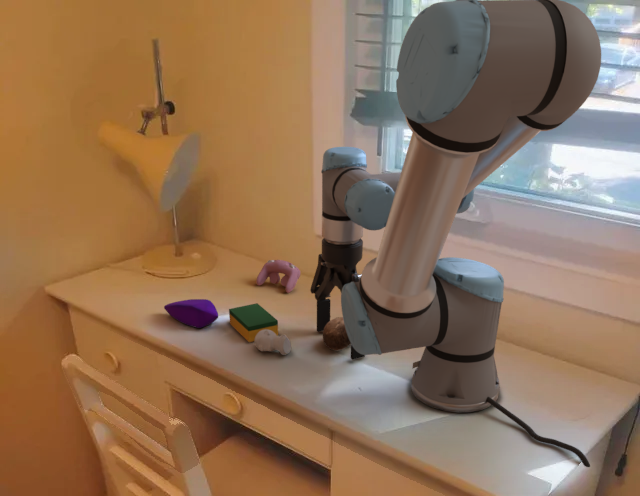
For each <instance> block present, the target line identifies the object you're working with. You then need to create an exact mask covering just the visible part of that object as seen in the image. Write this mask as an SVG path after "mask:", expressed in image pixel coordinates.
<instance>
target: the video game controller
mask: <svg viewBox="0 0 640 496" xmlns="http://www.w3.org/2000/svg"><path fill="white" fill-rule="evenodd" d="M280 274H283V276H282V277H281V276H280ZM300 277H301V270H300V268H299V267H298V266H296V265H294V264H293V263H291V262H289V261H287V260H284V259H271V260H270V259H269V260H267V262H265V263H264V265H263V266H262V268H261V270H260V271H259V273H258V275H257V277H256V280H255V281H256V285H257V286H261V285H263V284H264V283H265V282H266V281H267V280H268V278H269V282H270V283H271V284H273V285H278V284H279V283H280V284H281V286H282V287H285V293H287V294H289V293H291V292H292V291H293V290H294V289H295V287H296V286H297V284H298V283H297V282H298V280H299V279H300Z"/></svg>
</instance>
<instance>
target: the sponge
mask: <svg viewBox="0 0 640 496" xmlns="http://www.w3.org/2000/svg"><path fill="white" fill-rule="evenodd" d="M228 316H229V324H230V326H231V327H232V328H234V330H235V331H237V332H238V334H240V335H241V336H242V337H243V338H244V339H245V340H246V341H247V342H248V343H253V342H255V336H256V335H257V333H258V332H259V331H261V330H264V329H268V330H271V331H273V332H274V333H275V334H276V335H277V336H279V320H278V319H277V318H275V317H274V316H273V315H272V314H271V313H270V312H269V311H267V310H266V309H265V308H264V307H263V306H261V305H260V304H259V303H256V302H255V303H252V304H247V305H241V306H237V307H232V308H228Z"/></svg>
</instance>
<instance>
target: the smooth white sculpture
mask: <svg viewBox="0 0 640 496" xmlns="http://www.w3.org/2000/svg"><path fill="white" fill-rule="evenodd" d="M254 345H255V348H256V349H257V350H258V351H260V352H270V353H271V352H274V351H278V352H279V353H280V354H281V355H282V356H286V355H288V354H290V353H291V351H292V343H291V341H290V339H289V338H288V336H287V335H286V334H281V335H278V336H277V335H276V334H275V333H274V332H273V331H271V330H268V329H264V330H261V331H259V332H258V333H257V335H256V336H255V341H254Z"/></svg>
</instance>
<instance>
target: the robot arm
mask: <svg viewBox="0 0 640 496" xmlns="http://www.w3.org/2000/svg"><path fill="white" fill-rule="evenodd" d="M403 37H404V38H403V39H402V43H401V46H400V49H399V53H398V59H397V64H396V72H398V75H397V78H396V81H395V83H396V85H395V86H396V87H395V89H396V96H397V100H398V104H399V107H400V109H401V112H402V113H403V114H404V116H405V121H406V124H407V126H408V128H409V130H410V131H411V132H412V133H411V137H410V140H409V144H408V146H407V151H406V153H405V159H404V161H403V164H402V168H401V171H400V172H388V173H373V174H372V173H370V172H368V171H367V169H368V164H367V154H366V152H365V150H363V149H362V148H358V147H354V146H335V147H331V148H328V149H327V150H325V151H324V152H323V155H322V167H321V198H322V199H321V237H322V240H321V253H319V254H318V258H317V266H316V269H315V273H314V276H313V279H312V283H311V286H310V289H309V291H310V293H311V294H314V299H315V300H316V331H317V332H318V333H321V332H323V330H324V327H325V326H326V324H327V323H328V322H329V321H331V299H330V298H332V296H331V293H332V291H334V288H335V287H337V288H338V290H339V292H340V307H341V314H342V317H343V320H344V324H345V328H346V332H347V335H348V337H349V340H350V342H351V344H350V359H351V360H352V361H355V360H357V359H361V358H365V356H370V355H379V356H381V355H382V354H388V353H394V352H400V351H401V352H402V351H406V350H407V351H408V350H412V349H420V348H424V350H423V353H422V355H421V357H420V360H417V361H414V362H412V370H413V369H415V370H414V372H413V375H412V378H411V387H410V389H411V392H412V394H413V395H414V397H415V398H416V399H417V400H418V401H420V402H421V403H423V404H424V405H427V406H429V407H430V408H433V409H437V410H439V411H445V412H450V413H451V412H452V413H473V412H478V411H482V410H486V409H488V408H490V407H494V408H495V409H497V410H498V411H500V413H502V414H503V415H505V416H506V417H508V418H509V419H511V420H512V422H514V423H516V424H517V425H518V426H520V427H521V428H523V429H524V430H525V431H526V432H527V434H528V435H529V436H530V437H531V438H532V439H533V440H535V441H537V442H540V443H544V444H550V445H553V446H555V447H558V448H561V449H563V450H566V451H568V452H572V453H573V454H575V455H576V456H577V457H578V459H579V460H580V461H581V462H582V465H583V467H586V468H590V467H591V464H590V461H589V459H588V458H587V457H586V455H585V454H584V452H582V451H581V450H580V449H579V448H578V447H575V446H573V445H570V444H568V443H565V442H562V441H559V440H557V439H554V438H550V437H546V436H545V437H544V436H541V435H540V434H537V433H536V432H535V430H533V429H532V427H531V426H530V425H528V424H527V423H526V422H525V421H523V420H522V419H521V418H519V417H518V416H516V414H514V413H512V412H511V411H510V410H508V409H507V408H506V407H504V406H502V405H501V404H500V403H498V402H497V400H498V399H499V395H500V388H501V387H500V379H499V376H498V369H497V363H496V360H495V359H496V358H495V350H496V344H497V336H498V330H499V324H500V317H501V310H502V304H503V302H504V291H505V290H504V288H505V280H504V277H503V275H502V274H501V272H500V271H499V270H497V268H495V267H493V266H491V265H489V264H487V263H484V262H482V261H477V260H473V259H469V258H464V257H450V256H449V257H442V258H440V256H441V255H442V251H443V249H444V246H445V243H446V241H447V238H448V235H449V233H450V231H451V228H452V226H453V223H454V221H455V218H456V216H457V214H462V213H465V212H467V210H469V208H470V207H471V202H473V200H474V195H475V188H477V187H478V186H479V185H480V184H481V183H483V182H484V181H485V180H486V179H487V178H488V177H490V175H492V174H493V173H495V171H496V170H498V169H499V167H501V166H502V165H504V164H505V163H506V162H507V161H508V160H509V159H510V158H512V156H514V155H515V154H516V153H517V152H518V151H519V150H521V149H522V148H523V147H524V146H526V145H527V144H528V143H529V142H530V141H531V140H532V139H533V138H535V137H536V136H537V135H538V134H539V133H540V132H549V131H551V130H552V131H553V130H554V129H557V128H558V127H560V126H562V125H563V124H564V123H565V122H566V121H567V120H568V119H569V118H571V117H572V116H573V115H574V114H575V113H576V112H577V111H578V110H579V109H580V108H582V106H583V105H584V104H585V102H586V101H587V99H588V98H589V97H590V95H591V94H592V92H593V90H594V88H595V85H596V83H597V81H598V78H599V74H600V71H601V66H602V47H601V40H600V37H599V34H598V31H597V29H596V27H595V25H594V24H593V22H592V20H591V19H590V18H589V17H588V16H587V14H586V13H585V12H583V11H582V10H581V9H580V8H578V7H577V6H576V5H574V4H571V3H569V2H567V1H564V0H452V1H449V0H448V1H439V2H435V3H432V4H431V5H429V6H427V7H425V8H423V10H421V11H420V12H419V13H418V14H417V15H416V17H415V18H414V19H413V20H412V22H411V24H410V25H409V27H408V29H407V31H406V33H405V35H404V36H403ZM364 229H365V230H368V231H380V230H382V229H384V231H383V235H382V238H381V241H380V245H379V248H378V251H377V255H376V257H374V258H372V259H370V260H369V261H368V262H367V263H366V264H365V265H364V267H363V269H362V272H361V273H358V271H357V264H358V263H359V262H360V261H361V260H362V259H363V250H364V248H363V247H364V241H363V239H362V238H363V237H364Z"/></svg>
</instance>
